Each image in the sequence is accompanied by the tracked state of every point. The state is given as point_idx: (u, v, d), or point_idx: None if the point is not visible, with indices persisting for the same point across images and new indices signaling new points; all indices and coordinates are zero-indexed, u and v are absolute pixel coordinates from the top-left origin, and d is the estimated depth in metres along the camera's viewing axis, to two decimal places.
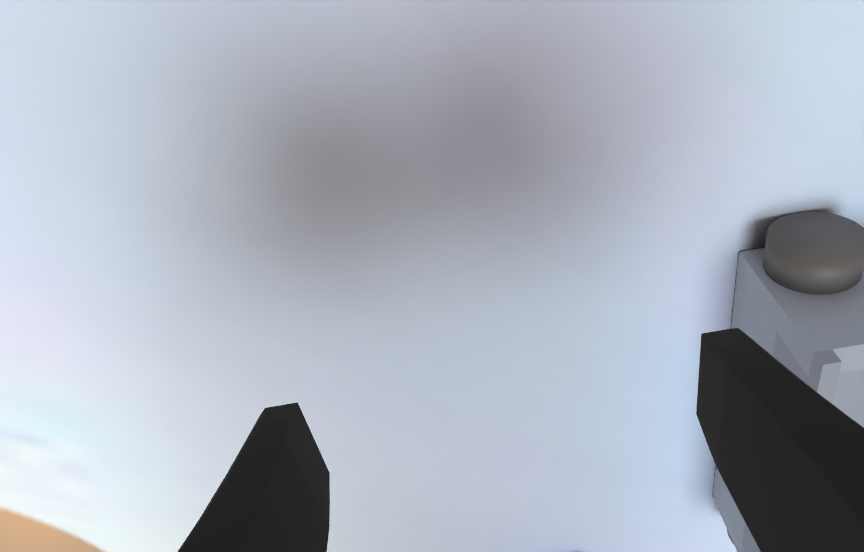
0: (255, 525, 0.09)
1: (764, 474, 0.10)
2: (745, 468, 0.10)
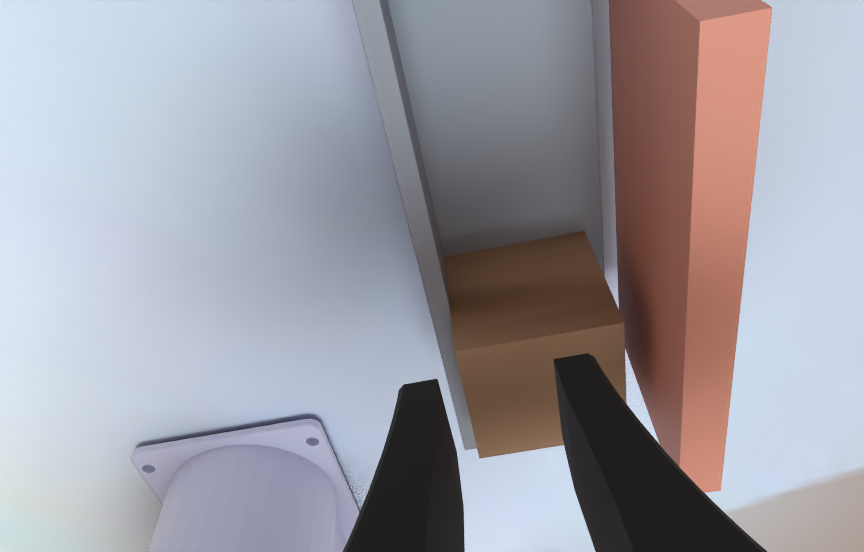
0: (430, 498, 0.09)
1: (594, 500, 0.10)
2: (585, 492, 0.11)
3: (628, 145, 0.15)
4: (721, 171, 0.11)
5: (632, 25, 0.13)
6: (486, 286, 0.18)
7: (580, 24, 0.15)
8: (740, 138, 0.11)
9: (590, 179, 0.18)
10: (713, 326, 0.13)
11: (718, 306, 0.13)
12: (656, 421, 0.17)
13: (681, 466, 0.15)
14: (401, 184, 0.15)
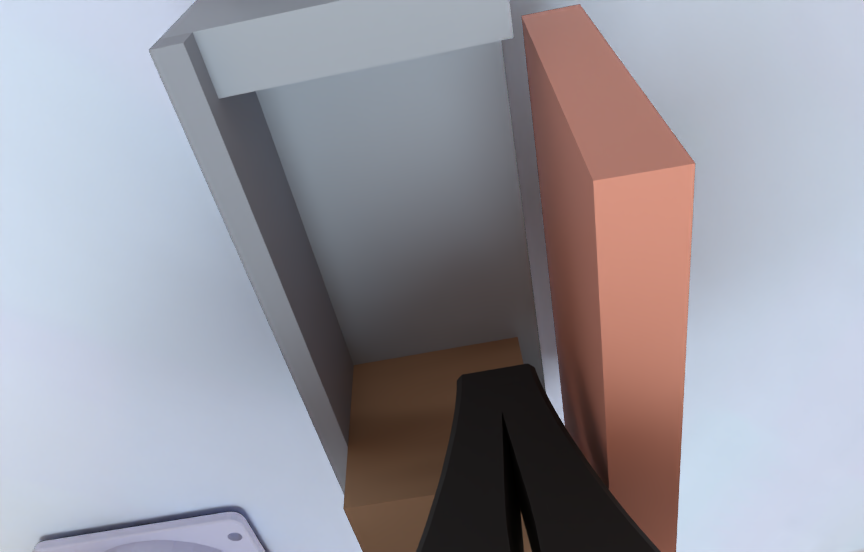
0: (504, 486, 0.09)
1: (526, 510, 0.10)
2: (521, 502, 0.11)
3: (555, 258, 0.13)
4: (640, 355, 0.08)
5: (545, 128, 0.10)
6: (394, 411, 0.15)
7: (495, 111, 0.12)
8: (663, 319, 0.08)
9: (520, 282, 0.15)
10: (645, 518, 0.10)
11: (650, 498, 0.10)
12: None
13: None
14: (268, 313, 0.12)
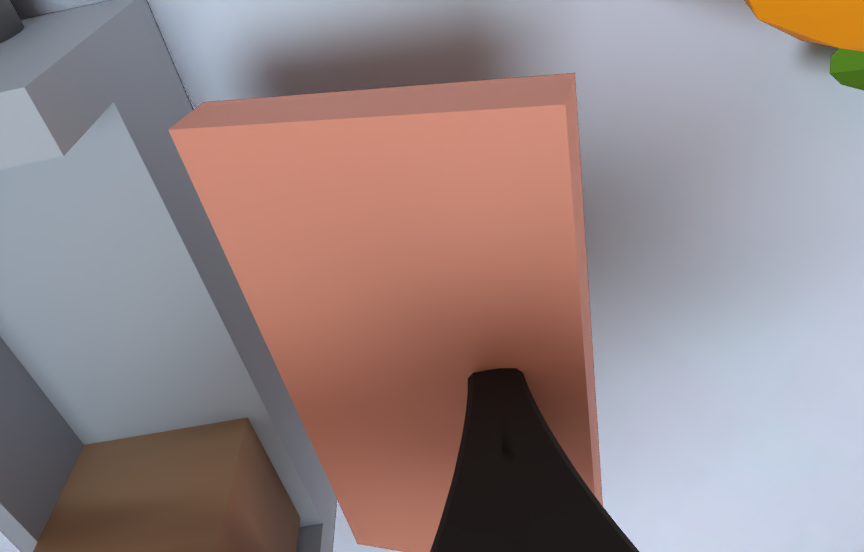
0: None
1: None
2: None
3: (333, 333, 0.12)
4: (580, 250, 0.10)
5: (313, 193, 0.10)
6: (98, 501, 0.14)
7: (147, 205, 0.12)
8: (580, 210, 0.10)
9: (232, 366, 0.14)
10: (592, 402, 0.12)
11: (591, 381, 0.12)
12: None
13: None
14: None
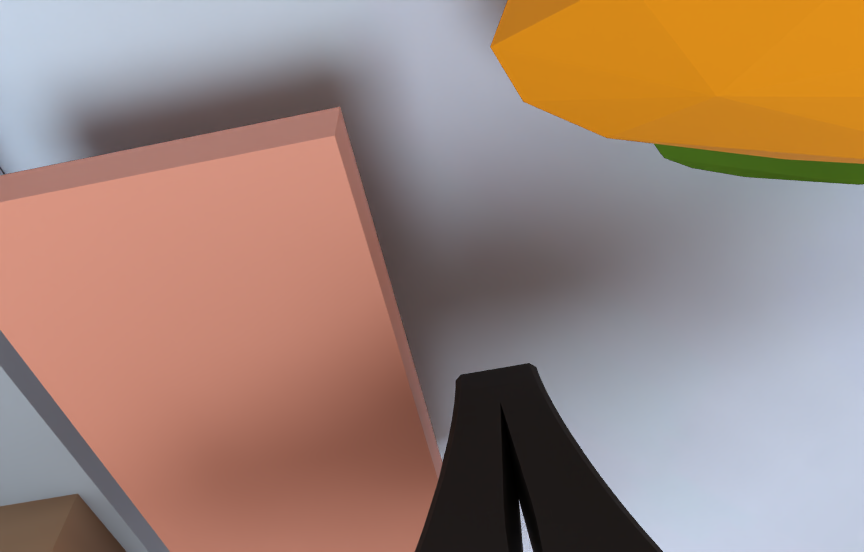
0: (502, 486, 0.09)
1: (527, 510, 0.10)
2: (523, 502, 0.11)
3: (151, 401, 0.12)
4: (380, 268, 0.11)
5: (99, 259, 0.10)
6: None
7: None
8: (372, 231, 0.10)
9: (49, 444, 0.13)
10: (423, 410, 0.13)
11: (417, 389, 0.12)
12: None
13: None
14: None
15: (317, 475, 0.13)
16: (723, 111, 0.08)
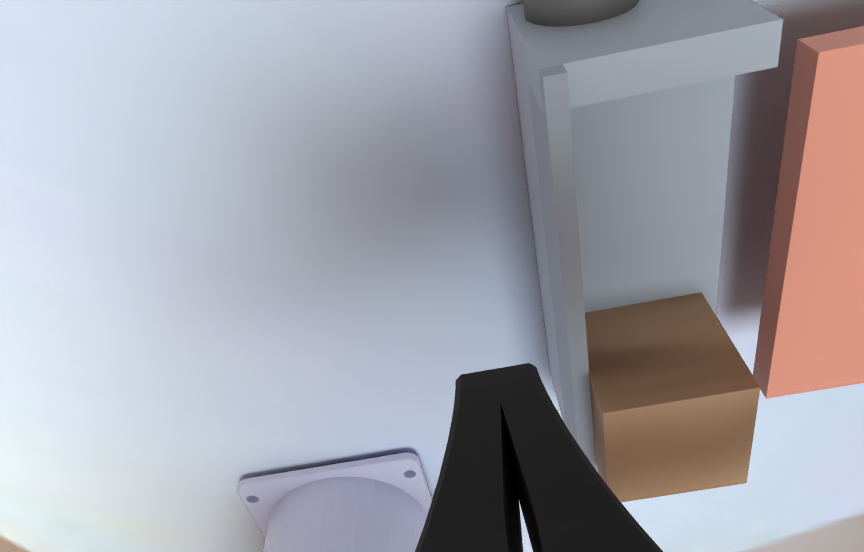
0: (502, 486, 0.09)
1: (527, 510, 0.10)
2: (523, 502, 0.11)
3: (856, 196, 0.17)
4: None
5: None
6: (618, 347, 0.19)
7: (721, 116, 0.17)
8: None
9: (713, 247, 0.19)
10: None
11: None
12: None
13: None
14: (563, 264, 0.16)
15: None
16: None
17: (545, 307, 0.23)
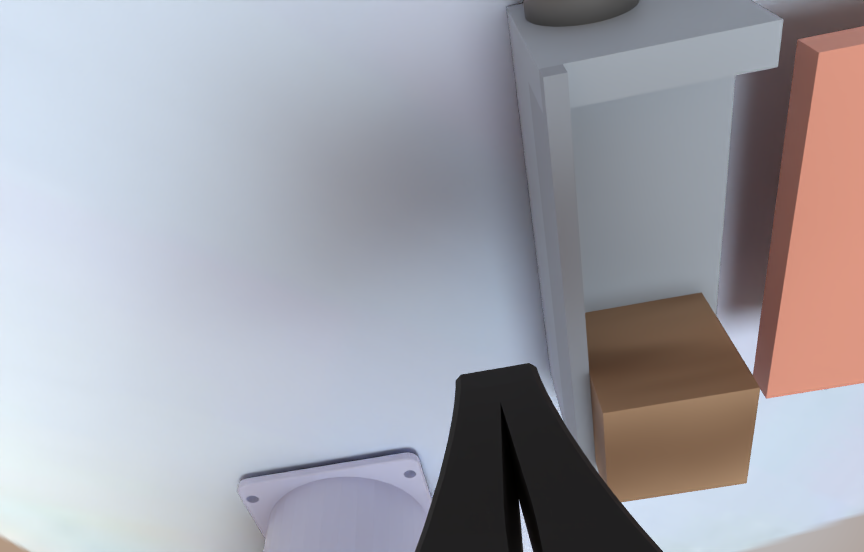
0: (502, 486, 0.09)
1: (527, 510, 0.10)
2: (523, 502, 0.11)
3: (857, 196, 0.17)
4: None
5: None
6: (618, 347, 0.19)
7: (721, 116, 0.17)
8: None
9: (713, 247, 0.19)
10: None
11: None
12: None
13: None
14: (563, 264, 0.16)
15: None
16: None
17: (545, 307, 0.23)
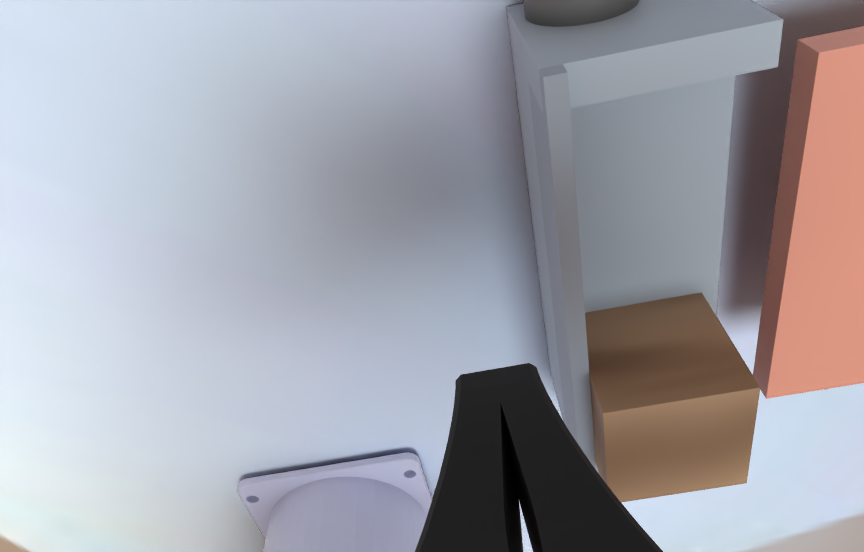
0: (502, 486, 0.09)
1: (527, 510, 0.10)
2: (523, 502, 0.11)
3: (857, 196, 0.17)
4: None
5: None
6: (618, 347, 0.19)
7: (721, 116, 0.17)
8: None
9: (713, 247, 0.19)
10: None
11: None
12: None
13: None
14: (563, 264, 0.16)
15: None
16: None
17: (545, 307, 0.23)
